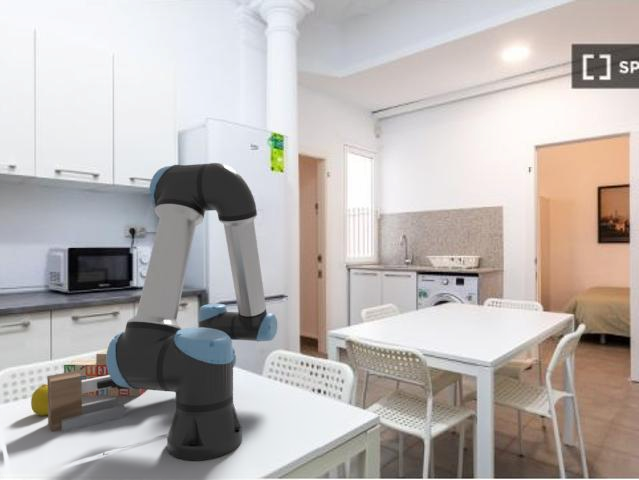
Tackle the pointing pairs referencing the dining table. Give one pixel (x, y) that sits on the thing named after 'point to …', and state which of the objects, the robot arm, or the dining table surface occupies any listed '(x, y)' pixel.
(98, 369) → the stack of blocks
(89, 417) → the chute
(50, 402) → the block
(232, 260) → the robot arm
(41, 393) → the lemon
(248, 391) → the dining table surface
